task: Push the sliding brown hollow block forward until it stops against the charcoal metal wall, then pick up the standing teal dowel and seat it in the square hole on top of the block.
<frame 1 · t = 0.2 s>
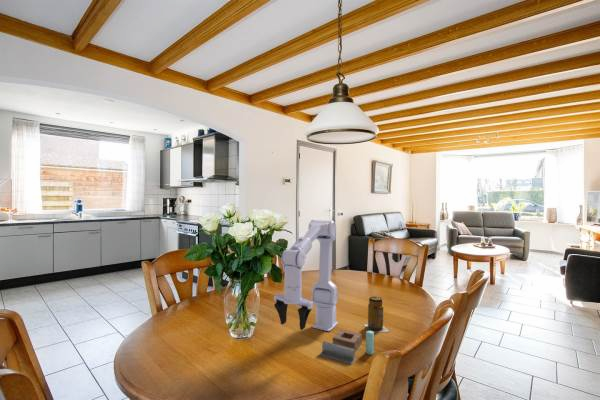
hand: (292, 325, 102), 10 cm above the table, tool pointing down, fingers open, 7 cm apart
wall: (338, 356, 102), on the table
condiment: (376, 328, 125), on the table
dowel: (369, 352, 105), on the table
brown hollow block: (347, 340, 110), point 2 cm above the table, slide at 0.0 cm
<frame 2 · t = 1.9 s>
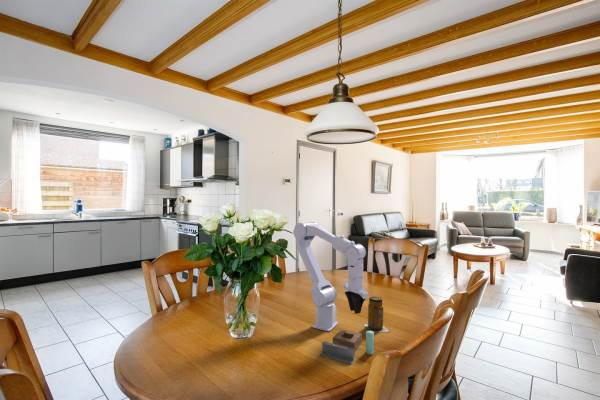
hand: (355, 311, 117), 9 cm above the table, tool pointing down, fingers open, 3 cm apart
nothing on the table moved.
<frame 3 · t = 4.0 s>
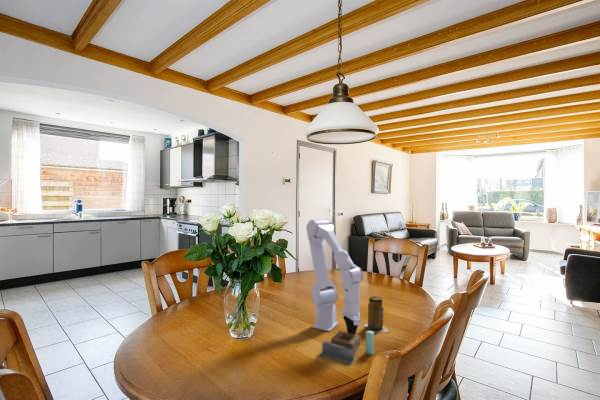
hand: (351, 336, 113), 1 cm above the table, tool pointing down, fingers closed
brown hollow block: (345, 342, 108), point 2 cm above the table, slide at 1.6 cm, touching gripper
everything else where it was.
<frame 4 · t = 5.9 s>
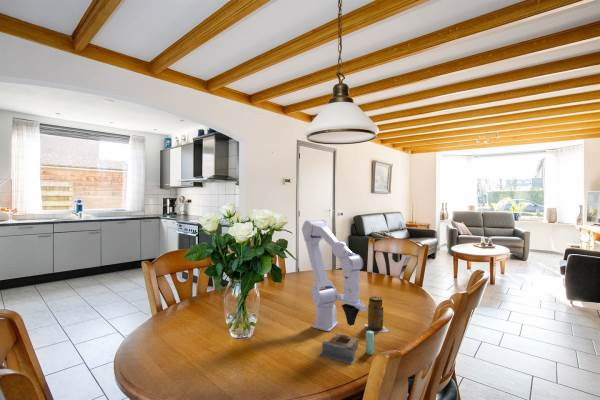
hand: (350, 324, 113), 6 cm above the table, tool pointing down, fingers closed
brown hollow block: (343, 345, 106), point 2 cm above the table, slide at 4.0 cm
everything else where it was.
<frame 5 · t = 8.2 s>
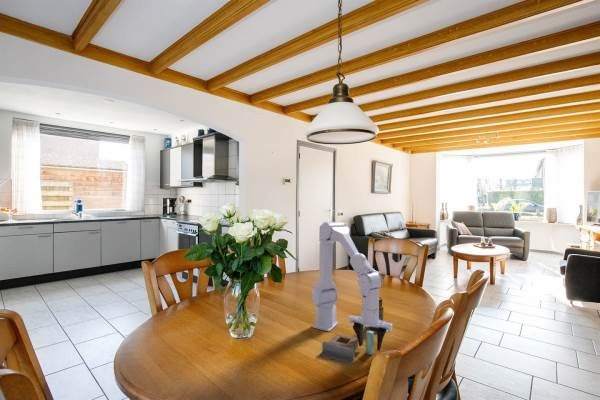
hand: (369, 347, 105), 2 cm above the table, tool pointing down, fingers open, 6 cm apart
nothing on the table moved.
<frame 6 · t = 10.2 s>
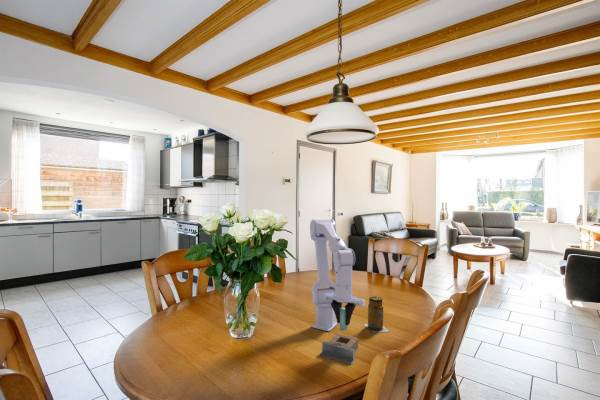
hand: (343, 323, 106), 9 cm above the table, tool pointing down, fingers closed on dowel, 3 cm apart
dowel: (343, 329, 106), point 7 cm above the table, touching gripper
everything else where it was.
when the fingers open (4 cm above the table, at t = 11.7 s): dowel drops 2 cm, resting on brown hollow block.
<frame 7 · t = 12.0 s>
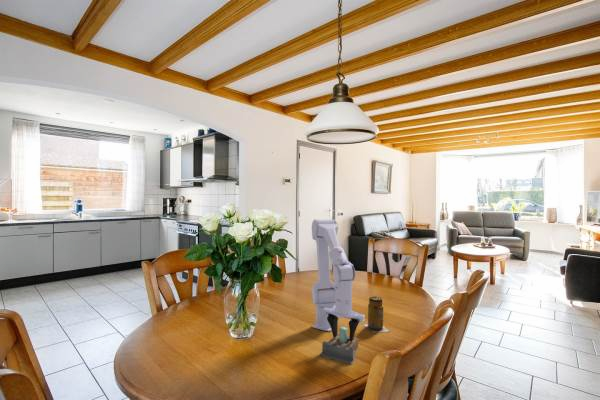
hand: (343, 338, 106), 4 cm above the table, tool pointing down, fingers open, 5 cm apart
dowel: (342, 348, 106), point 1 cm above the table, touching brown hollow block
brown hollow block: (343, 345, 106), point 2 cm above the table, slide at 4.0 cm, touching dowel
everything else where it was.
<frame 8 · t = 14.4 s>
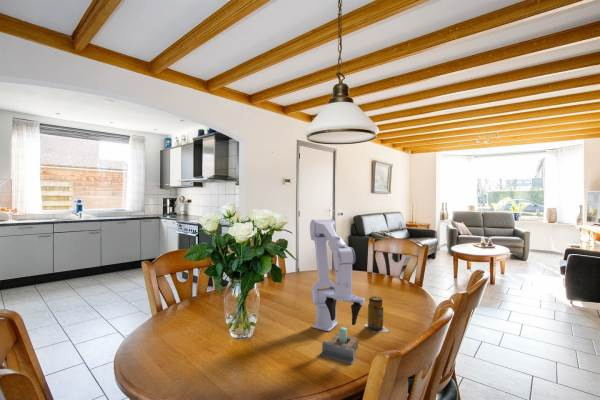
hand: (343, 321, 106), 10 cm above the table, tool pointing down, fingers open, 7 cm apart
nothing on the table moved.
at the end: brown hollow block slide at 4.0 cm; dowel 0.1 cm from the target spot, point 0.5 cm above the table; dowel tilted 1° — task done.
